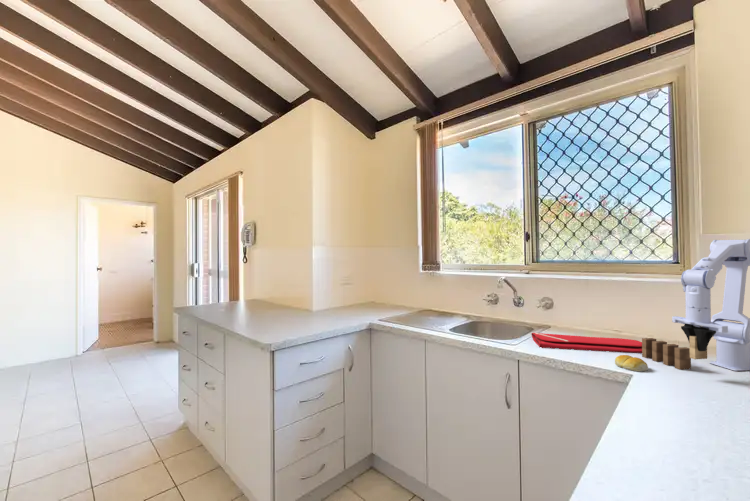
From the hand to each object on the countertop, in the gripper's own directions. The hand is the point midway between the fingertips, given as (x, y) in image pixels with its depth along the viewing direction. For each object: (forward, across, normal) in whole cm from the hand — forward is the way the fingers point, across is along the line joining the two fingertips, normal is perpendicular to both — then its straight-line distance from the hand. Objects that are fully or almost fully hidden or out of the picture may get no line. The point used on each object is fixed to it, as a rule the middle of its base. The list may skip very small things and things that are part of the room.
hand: (698, 349), depth 104 cm
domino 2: (+9, -15, +3) cm, 18 cm away
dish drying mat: (+10, -36, -8) cm, 38 cm away
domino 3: (+9, -11, +3) cm, 15 cm away
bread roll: (+9, -11, -13) cm, 19 cm away
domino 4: (+9, -7, +3) cm, 12 cm away
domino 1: (+9, -19, +3) cm, 21 cm away
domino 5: (+3, 0, 0) cm, 3 cm away
